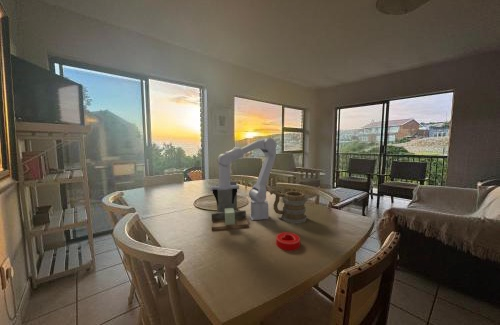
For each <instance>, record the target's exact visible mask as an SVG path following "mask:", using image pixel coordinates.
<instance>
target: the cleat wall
mask: <svg viewBox="0 0 500 325" xmlns="http://www.w3.org/2000/svg"><path fill="white" fill-rule="evenodd" d="M234 212H235V224H233V225H226V224H225V212H217V211H216V212H211V231H217V230H219V231H220V230H229V229H230V230H231V229H241V228H249V226H250V225H249V222H248V219H247V211H246V210H234Z"/></svg>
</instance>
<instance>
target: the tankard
mask: <svg viewBox="0 0 500 325" xmlns="http://www.w3.org/2000/svg"><path fill="white" fill-rule="evenodd" d="M269 194H270V195H274V196H275V198H274V199H275V200H274V202H273V206H272V207H273V211H274V212H275V214H279V215H281V217H280V218H281V219H282V221H284V222H286V223H290V224H296V225H297V224H298V225H299V224H302V223H306V221H307V219H308V216H307V215H306V214H305V212H306V206H305V204H306V203H307V202H306V200H307V199H306V197H305V193H303V192H301V191H295V190H293V191H292V190H290V191H286V192H285V193H280V192H278V191H277V190H275V189H273V190H271V191H269ZM280 198H282V203H283V207H282V210H280V209H279V208H278V205H279V202H280Z"/></svg>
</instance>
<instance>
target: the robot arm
mask: <svg viewBox="0 0 500 325" xmlns="http://www.w3.org/2000/svg"><path fill="white" fill-rule="evenodd" d="M256 149H260V150H261V152H263V154H264V156H265V158H264V159H263V160H264V161H263V162H262V166H261V169H260V172H259V175H258V177H257V180H256V183H254V184H253V185H252V188H251V189H250V191H249V192H248V195H249V198H250V214H249V218H250V219H251V221H257V220H259V221H261V220H269V203H268V201H266V199H267V193H268V192H267V191H268V190H267V183H268V181H269V178H270V175H271V172H272V170H273V169H272V168H273V166H274V164H275V160H276V157H277V143H276V141H275V140H274V138H271V137H269V138H260V139H257V140H255V141H252V142H251V143H248V144H247V145H244V146H243V147H239V146H237V147H236V146H234V147H233V148H232V149H231V150H229V151H225V153H220V154H219V155H218V157H217V159H216V161H217V163H218V184H219V186H216V185H212V186H210V187H209V189H210V192H212V194H213V196H214V198H215V201H216V206H217V205H218V190H231V189H232V204H234V198H235V195H236V193H238V190H240V185H239V184H237V185H230V181H231V164H232V163H234V162H235V161H237V160H240V159H241V158H243V157H244V155H245V154H247V153H249V152H252V151H254V150H256Z"/></svg>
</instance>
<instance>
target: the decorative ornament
mask: <svg viewBox="0 0 500 325" xmlns="http://www.w3.org/2000/svg"><path fill="white" fill-rule="evenodd" d="M275 243H276V244H275V245H276V246H277V247H278V249H281V250H284V251H296V250H298V249H300V247H301V238H300V236H299V235H298V234H296V233H293V232H285V231H284V232H280V233H277V235H276V238H275Z"/></svg>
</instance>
